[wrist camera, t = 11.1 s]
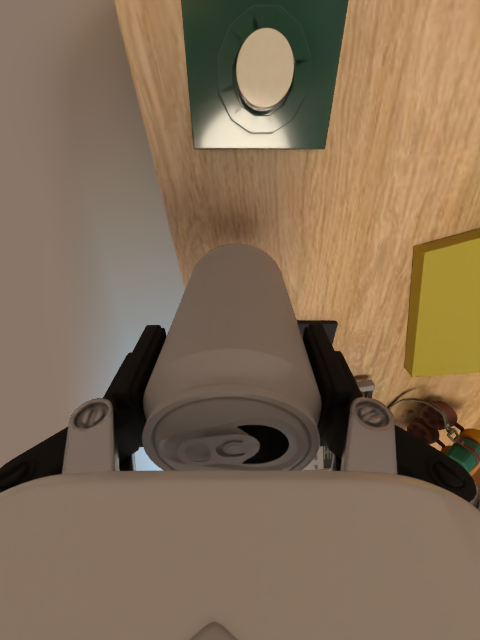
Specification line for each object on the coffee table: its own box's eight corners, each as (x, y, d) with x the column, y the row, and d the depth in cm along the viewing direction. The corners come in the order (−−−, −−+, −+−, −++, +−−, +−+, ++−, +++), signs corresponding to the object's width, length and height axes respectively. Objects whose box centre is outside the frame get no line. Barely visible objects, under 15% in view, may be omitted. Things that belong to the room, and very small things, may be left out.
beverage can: (281, 318, 19) (323, 493, 10) (199, 323, 20) (158, 498, 10) (282, 235, 16) (352, 379, 6) (183, 243, 16) (92, 392, 6)
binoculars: (390, 417, 56) (464, 484, 46) (350, 444, 49) (427, 530, 39) (425, 374, 48) (524, 442, 38) (383, 399, 41) (491, 491, 31)
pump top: (236, 111, 20) (236, 107, 18) (236, 38, 18) (235, 27, 16) (286, 111, 20) (290, 107, 18) (292, 38, 18) (297, 27, 16)
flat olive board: (413, 246, 31) (403, 376, 44) (424, 252, 29) (410, 386, 42) (527, 215, 29) (481, 361, 41) (547, 219, 27) (492, 371, 40)
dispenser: (198, 149, 25) (189, 149, 21) (188, 14, 20) (174, -21, 16) (317, 149, 25) (331, 149, 21) (336, 14, 20) (360, -21, 16)
